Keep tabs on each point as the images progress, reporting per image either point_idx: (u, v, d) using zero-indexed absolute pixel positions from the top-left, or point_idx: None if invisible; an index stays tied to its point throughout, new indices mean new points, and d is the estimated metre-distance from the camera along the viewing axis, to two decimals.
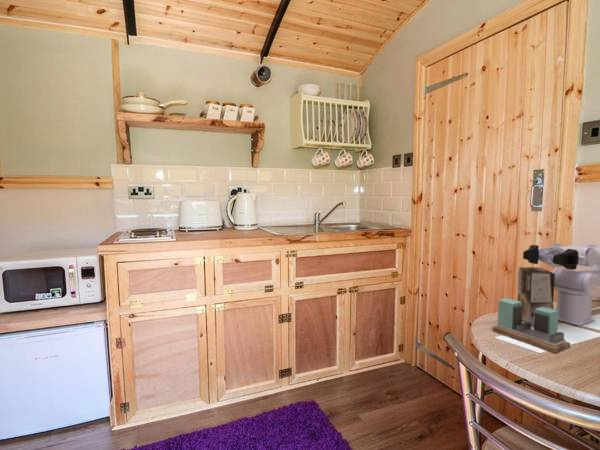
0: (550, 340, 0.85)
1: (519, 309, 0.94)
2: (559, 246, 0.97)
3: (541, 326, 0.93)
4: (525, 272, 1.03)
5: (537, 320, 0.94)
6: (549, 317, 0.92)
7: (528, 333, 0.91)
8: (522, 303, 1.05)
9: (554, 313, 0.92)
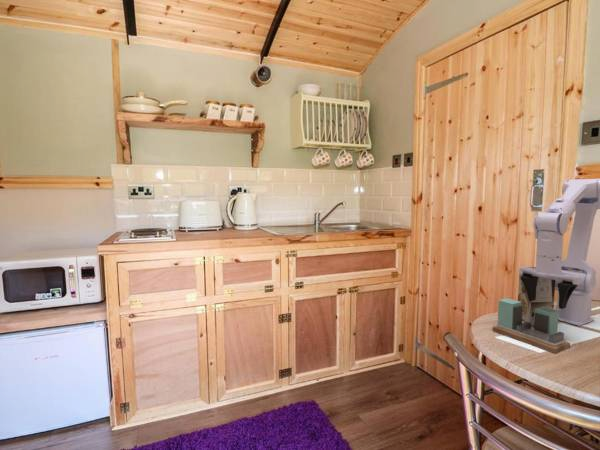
0: (550, 340, 0.85)
1: (519, 309, 0.94)
2: (545, 276, 0.91)
3: (541, 326, 0.93)
4: None
5: (537, 320, 0.94)
6: (549, 317, 0.92)
7: (528, 333, 0.91)
8: (523, 303, 1.05)
9: (554, 313, 0.92)
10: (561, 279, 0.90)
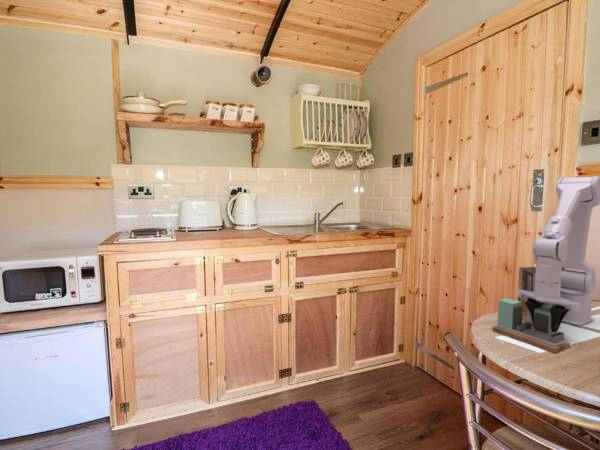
0: (550, 340, 0.85)
1: (519, 309, 0.94)
2: (544, 301, 0.92)
3: (541, 326, 0.93)
4: (526, 272, 1.03)
5: (537, 320, 0.94)
6: (549, 317, 0.92)
7: (528, 333, 0.91)
8: (523, 303, 1.05)
9: None
10: (560, 305, 0.91)
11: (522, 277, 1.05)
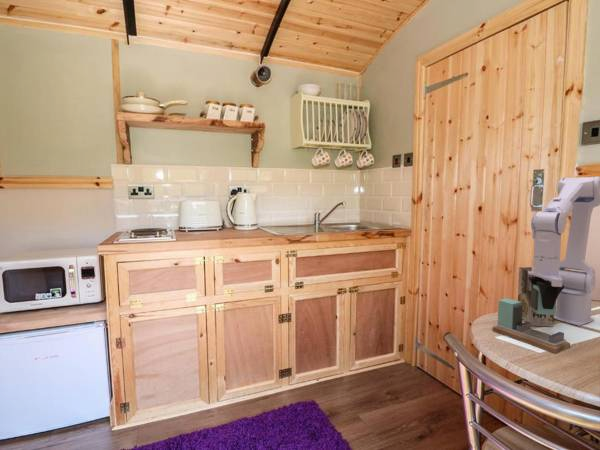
0: (550, 340, 0.85)
1: (519, 309, 0.94)
2: None
3: (533, 301, 0.92)
4: (526, 272, 1.03)
5: (532, 295, 0.93)
6: (538, 292, 0.90)
7: (528, 333, 0.91)
8: (523, 303, 1.05)
9: None
10: (549, 280, 0.88)
11: (522, 277, 1.05)
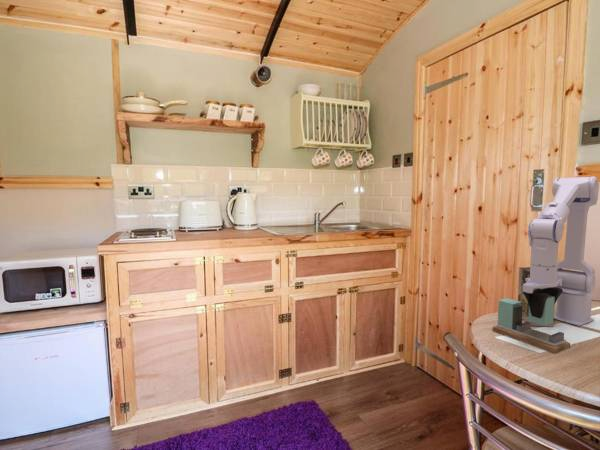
0: (550, 340, 0.85)
1: (519, 309, 0.94)
2: None
3: None
4: (526, 272, 1.03)
5: None
6: None
7: (528, 333, 0.91)
8: (523, 303, 1.05)
9: None
10: None
11: (522, 277, 1.05)
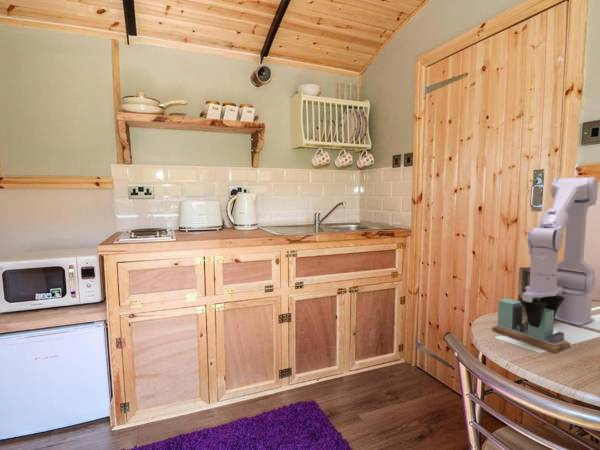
0: (550, 340, 0.85)
1: (519, 309, 0.94)
2: None
3: None
4: (526, 272, 1.03)
5: None
6: None
7: None
8: None
9: None
10: None
11: (522, 277, 1.05)
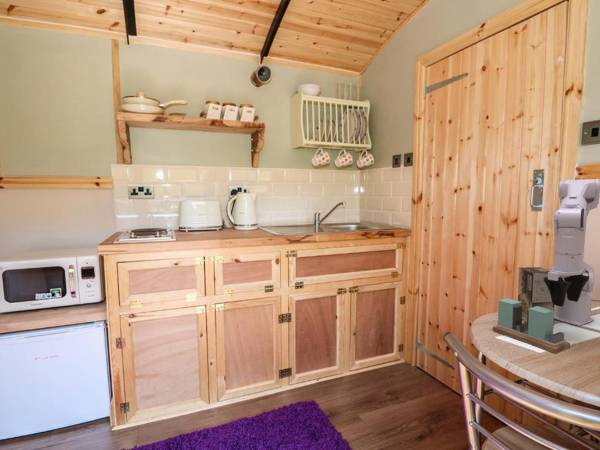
0: (550, 340, 0.85)
1: (519, 309, 0.94)
2: None
3: None
4: (526, 272, 1.03)
5: None
6: (529, 312, 0.90)
7: None
8: (523, 303, 1.05)
9: (537, 312, 0.88)
10: None
11: (522, 277, 1.05)
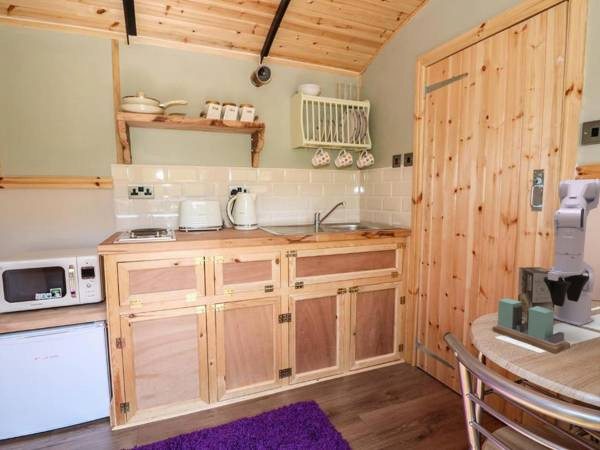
0: (550, 340, 0.85)
1: (519, 309, 0.94)
2: None
3: None
4: (526, 272, 1.03)
5: None
6: (529, 312, 0.90)
7: None
8: (523, 303, 1.05)
9: (537, 312, 0.88)
10: None
11: (522, 277, 1.05)
